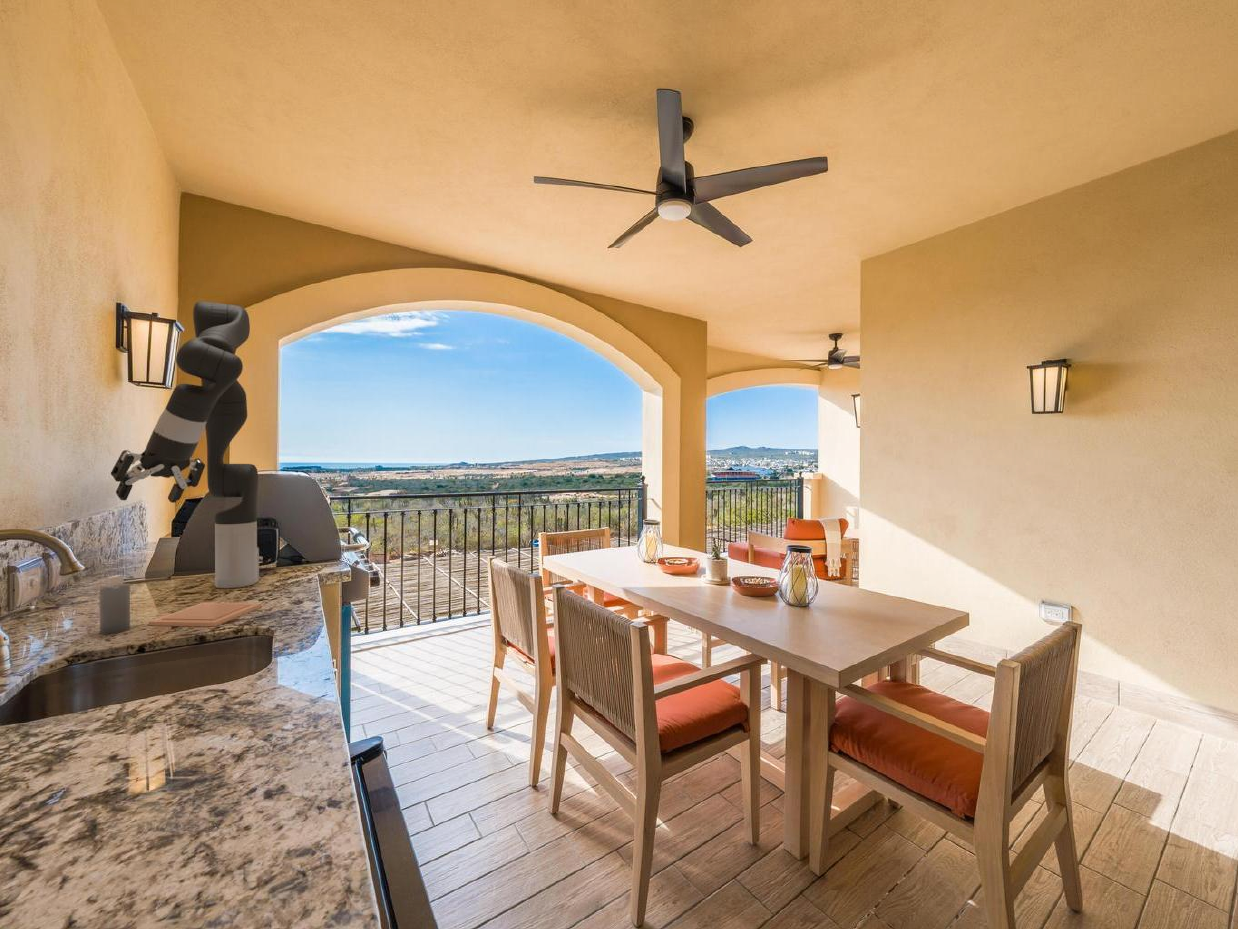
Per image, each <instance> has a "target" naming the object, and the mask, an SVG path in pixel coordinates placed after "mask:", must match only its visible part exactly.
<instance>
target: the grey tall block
mask: <svg viewBox="0 0 1238 929" xmlns="http://www.w3.org/2000/svg"><path fill="white" fill-rule="evenodd" d="M105 580H106V585H104V586H103V585H102V586H101V587H99V634H102V635H111V634H117V633H121V632H125V631H128V630H130V629H131V584H130V583H125V582H124V574H117V575H112V576H108V577H106V579H105Z"/></svg>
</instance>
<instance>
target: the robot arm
mask: <svg viewBox="0 0 1238 929" xmlns="http://www.w3.org/2000/svg"><path fill="white" fill-rule="evenodd" d="M192 311H193V312H192V315H193V316H192V317H193V320H192V321H193V325H194V326H193V327H194V334H195V337H194V338H192V339H190V340H189V339H188V341H185V343H184V344H182V345H181V346H180V348H179V349H178V350H177V353H176V357H175V362H176V366H178V368H179V369H180V370H181V371H182V372H184V373H185V374H188V375H191V376H193V377H197V378H200V381H201V385H196V384H191V383H179V384H178V385H175V387H174V389H173V391H172V392H171V395H170V397H169V399H168V402H167V404H166V405H165V408H164V410H163V411H162V413H161V414H160V416H159V417H158V419H157V422H156V424H155V426H154V428H153V431H152V432H151V434H150V437H149V440H148V442H147V443H146V446H145V449H144V451H143V452H142V453H136V452H135V453H133V452H131V451H130V450H128V449H125V450H122V451H121V453H120V456H119V457H118V459H117V461H116V462H115V464H114V466H113V468H112V470H111V471H110V475H111V477H113V479H114V480H115V482H119V484H118V486H117V488H116V491H115V494H116V496H117V497H118V498H119V500H120V501H127V499H128V497H129V495H130V492H132V491H131V490H132V488H133V486H134V485H133V484H134V483H136V482H138V481H139V480H144V479H146V478H148V477H149V476H150V477H153V478H158V477H162V478H165V479H169V478H171V477H173V479H174V481H175V483H173V485H172V487H171V490H170V491H169V494H168V496H167V500H169V502H170V503H171V504H173V503H177V501H179V500H180V499H181V498H182V495H183V493H184V491H185V489H187V488H190V487H192V488H196V487H198V486H199V483H200V480H201V478H202V475H203V473H204V470H205V468H206V470H207V471H206V476H207V477H206V478H207V489H208V492H209V494H210V496H211V497H213V498H221V499H222V498H224V499H225V498H241V502H240V503H238V504H236V505H235V506H233V507H230V508H227V509H223V510H221V511H218V512H216V513H215V516H214V555H215V556H214V559H215V562H214V567H215V568H214V570H215V571H214V580H215V582H214V585H215V588H217V589H237V588H244V587H248V586H251V585H252V586H253V585H256V584H257V583H258V581H260V547H258V528H257V527H258V524H257V523H258V521H257V520H258V518H257V515H258V512H257V511H258V508H257V507H258V504H257V503H258V488H259V472H258V469H257V466H256V465H255V464H252V463H225V462H224V458H225V453H226V450H227V449H228V447H229V446H230V444H231V442H232V440H233V439H234V438H235V437H236V436H237V434H238V433H239V431H240V430H241V429H242V428H243V426H244V425H245V423H246V421H247V418H248V406H247V405H248V402H247V393H246V391H245V389H244V387H243V386H242V384H241V383H240V382H239V381H238V379H239V377H240V376H241V374H242V373H243V369H244V368H243V367H244V366H243V361H242V359H241V358H240V357H239V356H238V355H236V351H237V349H239V347H241V346H242V345H243V344H244V343H245V342H246V341H248V339H249V337H250V330H251V323H250V317H249V313H248V311H247V310H246V309H245V308H244V307H242V306H239V305H235V304H229V303H228V304H227V303H220V302H213V301H212V302H211V301H197V302H196V303H195V304H194V306H193V309H192ZM204 432H205V436H206V462H207V463H206V464H205V463H204V462H203V461H202V460H201V459H200V458H195V459H191V458H192V457H193V455H194V453H195V451H196V448H197V446H198V445H199V442H200V440H201V438H202V437H203V433H204ZM138 461H139V463H138V464H136V465H135V463H136V462H138ZM131 465H134V466H133V467H131ZM130 467H131V469H130ZM188 468H190V470H189V473H188V475H187V478H184V475H183V473H182V471H184V470H186V469H188ZM129 469H130V470H129Z"/></svg>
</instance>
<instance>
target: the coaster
mask: <svg viewBox="0 0 1238 929" xmlns="http://www.w3.org/2000/svg"><path fill="white" fill-rule="evenodd" d="M262 606H263V604H262V603H261V602H259V603H258V602H256V603H255V602H204V601H203V602H200V603H198V604H195V605H191V606H189V607H185V608H183V609H181V610H178V611H175V612H172V613H169V614H166V615H163V616H161V617H158V618H155V619H152V620H149V621H148V622H147V624H148V625H147V626H150V627H151V626H156V627H158V626H161V627H163V626H164V627H217V626H219V625H222V624H224V623H226V622H229V621H231V620H233V619H235V618H236V619H237V618H238V616H239V617H240V616H244V615H245V614H247V613H250V612H252V611H255V610H258V609H260V608H262Z"/></svg>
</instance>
